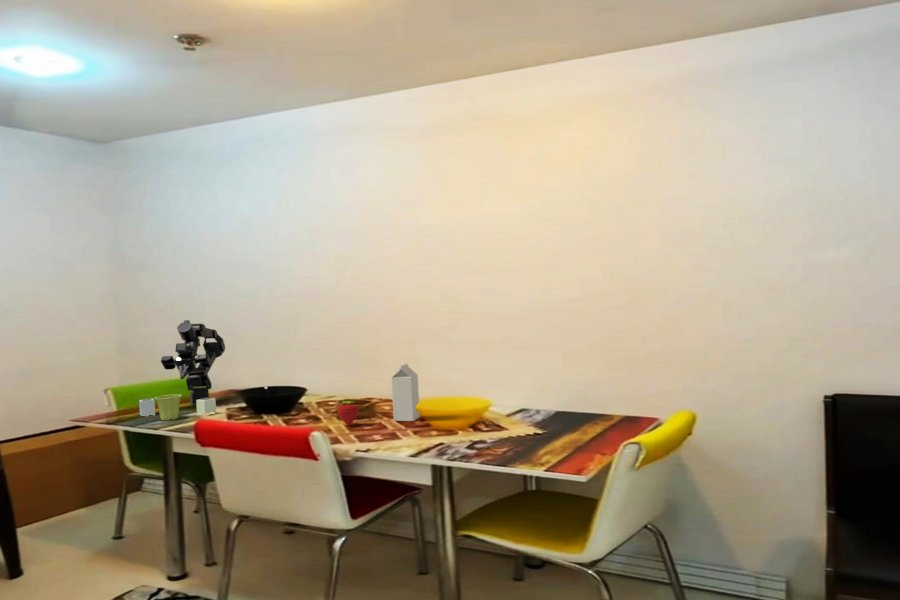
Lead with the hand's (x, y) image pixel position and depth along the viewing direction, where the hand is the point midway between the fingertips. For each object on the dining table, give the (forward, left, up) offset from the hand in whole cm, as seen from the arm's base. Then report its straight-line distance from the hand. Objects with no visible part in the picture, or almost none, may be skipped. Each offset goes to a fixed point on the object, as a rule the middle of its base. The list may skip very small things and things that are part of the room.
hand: (181, 378), depth 270 cm
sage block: (-4, +14, -13) cm, 20 cm away
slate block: (+12, -6, -13) cm, 19 cm away
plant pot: (+9, +11, -14) cm, 20 cm away
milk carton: (-47, +86, -14) cm, 99 cm away
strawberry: (-28, +79, -14) cm, 85 cm away
